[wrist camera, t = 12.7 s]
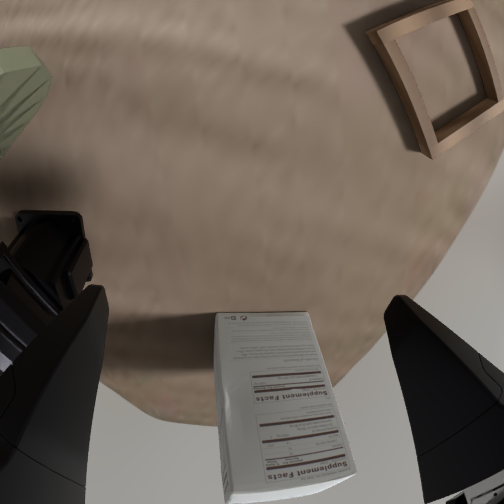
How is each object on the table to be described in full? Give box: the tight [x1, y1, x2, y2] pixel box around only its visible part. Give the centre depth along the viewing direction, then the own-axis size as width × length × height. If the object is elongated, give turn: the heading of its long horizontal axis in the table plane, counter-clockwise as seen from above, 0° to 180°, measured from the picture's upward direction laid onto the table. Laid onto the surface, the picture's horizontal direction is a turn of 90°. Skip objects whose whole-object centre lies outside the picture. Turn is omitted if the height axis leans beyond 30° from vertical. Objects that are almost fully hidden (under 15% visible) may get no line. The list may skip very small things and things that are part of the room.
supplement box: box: [214, 312, 357, 504], centre depth 24 cm, size 10×9×17 cm
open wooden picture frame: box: [366, 0, 504, 160], centre depth 15 cm, size 10×10×2 cm
